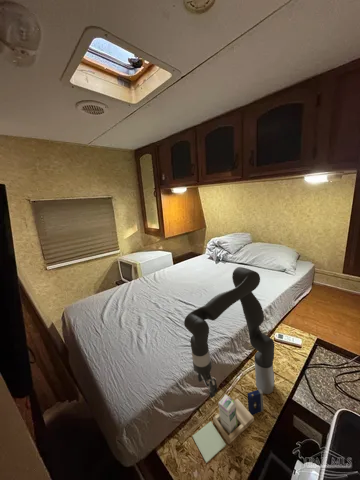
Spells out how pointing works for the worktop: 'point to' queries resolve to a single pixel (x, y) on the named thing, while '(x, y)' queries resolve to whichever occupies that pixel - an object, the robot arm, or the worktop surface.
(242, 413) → the wooden frame
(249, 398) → the cassette player
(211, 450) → the sage mat
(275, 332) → the worktop surface
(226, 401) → the syrup box
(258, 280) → the robot arm
